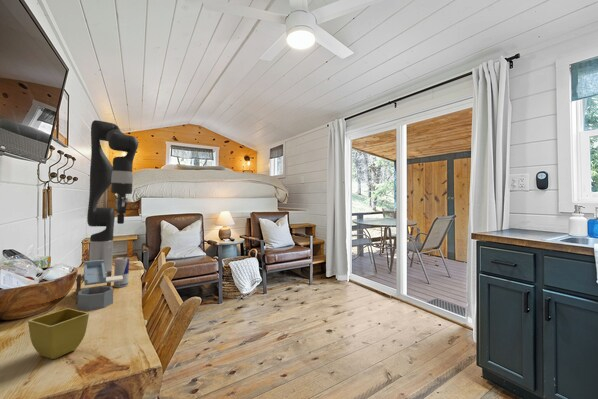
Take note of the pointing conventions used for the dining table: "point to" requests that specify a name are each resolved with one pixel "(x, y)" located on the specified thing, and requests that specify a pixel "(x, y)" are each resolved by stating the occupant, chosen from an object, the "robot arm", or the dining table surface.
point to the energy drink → (121, 271)
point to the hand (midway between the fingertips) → (120, 223)
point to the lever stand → (88, 287)
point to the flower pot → (58, 332)
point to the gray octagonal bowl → (95, 297)
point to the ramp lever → (97, 273)
